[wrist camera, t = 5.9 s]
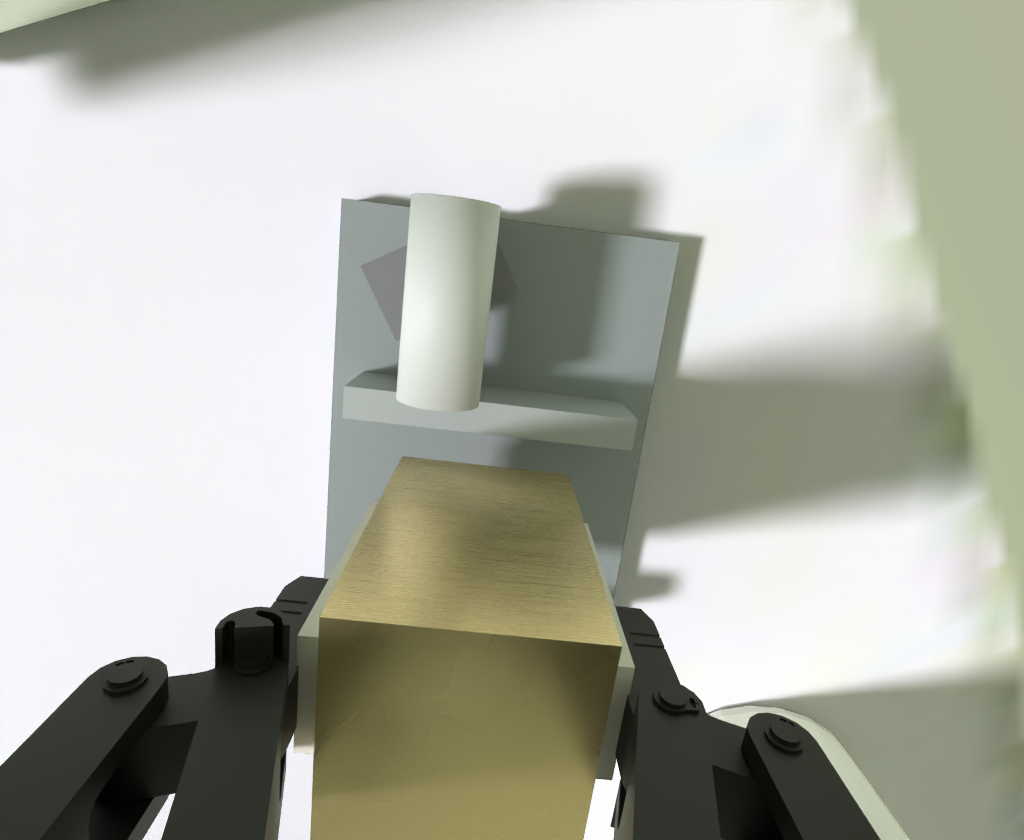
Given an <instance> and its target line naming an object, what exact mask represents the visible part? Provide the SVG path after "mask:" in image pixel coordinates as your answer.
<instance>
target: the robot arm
mask: <svg viewBox="0 0 1024 840" xmlns="http://www.w3.org/2000/svg"><path fill="white" fill-rule="evenodd" d="M378 502H379V501H374V500H372V502H371V504H370V506H369V507H368V509H367V511H366V513H365V515H364V516H363V518H362V520H361V522H360V524H359V525H358V527H357V529H356V531H355V533H354V534H353V536H352V538H351V540H350V542H349V543H348V545H347V547H346V549H345V551H344V552H343V554H342V556H341V558H340V560H339V562H338V563H337V565H336V567H335V569H334V571H333V572H332V574H331V576H330V578H329V579H325V578H315V577H305V576H300V577H299V578H297V579H296V580H294V581H293V582H291V583H289V584H288V585H286V586H285V587H284V589H283V590H282V592H281V593H280V595H279V596H278V597H277V599H276V601H275V602H274V603H273V605H272V606H271V608H268V607H254V608H247V609H242V610H240V611H237V612H234V613H231V614H230V615H228V616H227V617H225V618H224V619H222V620H221V621H220V622H219V624H218V625H217V627H216V628H215V669H212V670H209V671H205V672H200V673H195V674H187V675H179V676H171V677H168V671H167V666H166V665H165V664H164V663H163V662H162V661H160V660H159V659H155V658H151V657H130V658H126V659H122V660H118V661H115V662H112V663H110V664H108V665H106V666H104V667H101V668H100V669H98V670H97V671H96V672H94V673H93V674H92V675H90V676H89V677H88V678H87V679H86V680H85V681H84V682H83V683H82V684H81V685H80V686H79V687H78V688H77V689H76V690H75V691H74V692H73V693H72V694H71V695H70V696H69V697H68V698H67V699H66V700H65V701H64V702H63V703H62V704H61V705H60V706H59V707H58V708H57V709H56V710H55V711H54V712H53V713H52V714H51V715H50V716H49V717H48V718H47V719H46V720H45V721H44V722H43V723H42V724H41V726H40V727H39V728H38V729H37V730H36V731H35V732H34V733H33V734H32V735H31V736H30V737H29V738H28V739H27V740H26V741H25V742H24V743H23V744H22V745H21V746H20V747H19V748H18V749H17V750H16V751H15V752H14V753H13V754H12V755H11V756H10V757H9V758H8V759H7V760H6V761H5V762H4V763H3V764H2V765H1V766H0V840H142V839H143V838H144V836H145V834H146V833H147V831H148V829H149V828H150V826H151V825H152V823H153V821H154V820H155V818H156V816H157V815H158V813H159V811H160V810H161V808H162V807H163V805H164V803H165V802H166V800H167V798H168V796H169V794H174V793H176V794H175V797H174V800H173V804H172V807H171V810H170V813H169V816H168V820H167V823H166V826H165V829H164V833H163V836H162V839H161V840H278V833H279V824H280V815H281V807H282V798H283V789H284V781H285V772H286V749H287V747H288V745H289V743H290V741H291V738H292V736H293V734H294V753H306V754H314V738H315V713H316V688H317V663H318V638H319V617H320V615H321V613H322V611H323V609H324V607H325V605H326V603H327V601H328V599H329V597H330V595H331V593H332V591H333V589H334V588H335V586H336V584H337V582H338V580H339V578H340V576H341V574H342V572H343V570H344V568H345V566H346V564H347V562H348V560H349V558H350V556H351V554H352V553H353V551H354V549H355V547H356V545H357V543H358V541H359V539H360V537H361V535H362V533H363V531H364V529H365V527H366V525H367V523H368V521H369V520H370V518H371V516H372V514H373V512H374V510H375V508H376V506H377V504H378ZM584 524H585V528H586V531H587V534H588V537H589V541H590V544H591V547H592V550H593V553H594V557H595V560H596V563H597V566H598V570H599V573H600V576H601V579H602V583H603V586H604V589H605V592H606V596H607V599H608V602H609V605H610V609H611V612H612V615H613V618H614V622H615V625H616V628H617V631H618V635H619V638H620V641H621V644H622V650H621V655H620V660H619V664H618V669H617V674H616V679H615V684H614V689H613V694H612V699H611V704H610V709H609V714H608V719H607V724H606V729H605V734H604V739H603V744H602V749H601V754H600V759H599V764H598V768H597V773H596V778H595V779H606V780H612V777H613V773H614V768H615V763H616V758H617V763H618V767H619V771H620V776H621V780H620V784H619V789H618V794H617V799H616V803H615V808H614V813H613V818H612V822H611V827H614V828H615V829H614V840H881V839H880V838H879V836H878V835H877V833H876V832H875V830H874V829H873V827H872V826H871V824H870V822H869V821H868V819H867V818H866V816H865V815H864V813H863V812H862V810H861V808H860V807H859V805H858V804H857V802H856V801H855V799H854V798H853V796H852V795H851V793H850V791H849V790H848V788H847V787H846V785H845V784H844V782H843V781H842V779H841V778H840V776H839V774H838V773H837V771H836V770H835V768H834V767H833V765H832V764H831V762H830V761H829V759H828V757H827V756H826V754H825V753H824V751H823V750H822V748H821V747H820V745H819V743H818V742H817V741H816V740H815V738H814V737H813V736H812V735H811V734H810V733H809V732H808V731H807V730H806V729H805V728H803V727H802V726H800V725H799V724H798V723H796V722H794V721H792V720H790V719H788V718H786V717H784V716H781V715H777V714H773V713H757V714H755V715H753V716H752V717H750V719H749V721H748V724H747V727H746V728H744V727H741V726H737V725H734V724H731V723H728V722H725V721H722V720H720V719H717V718H715V717H712V716H710V715H709V714H707V713H706V711H705V708H704V706H703V703H702V701H701V700H700V699H699V698H698V697H697V696H696V695H695V693H693V692H692V691H690V690H689V689H687V688H686V687H684V686H683V685H680V682H679V680H678V678H677V675H676V673H675V671H674V668H673V666H672V664H671V661H670V659H669V657H668V654H667V652H666V650H665V649H664V645H663V642H662V640H661V638H659V633H658V631H657V628H656V626H655V624H654V621H653V620H652V619H650V618H649V617H648V616H647V615H646V614H645V613H644V612H643V611H642V610H641V609H637V608H627V607H617V606H615V605H614V602H613V599H612V596H611V593H610V590H609V587H608V584H607V581H606V578H605V575H604V572H603V569H602V566H601V563H600V560H599V557H598V554H597V551H596V548H595V545H594V542H593V539H592V536H591V533H590V530H589V527H588V523H584Z"/></svg>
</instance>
